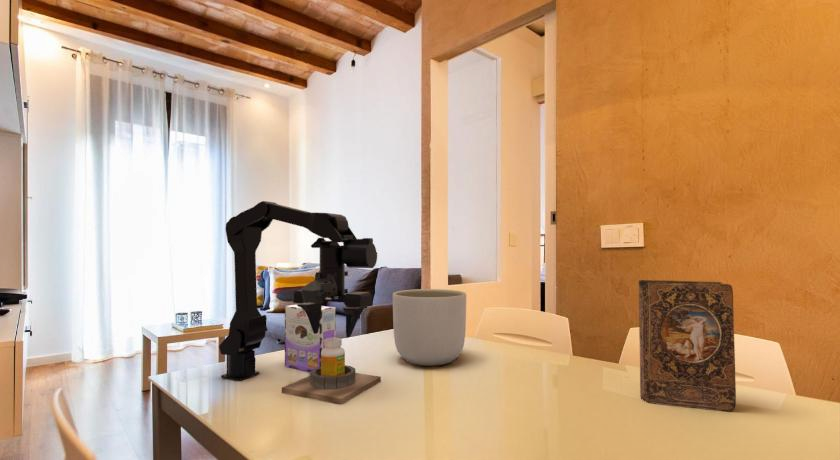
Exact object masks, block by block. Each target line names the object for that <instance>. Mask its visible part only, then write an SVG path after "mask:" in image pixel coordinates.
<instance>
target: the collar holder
mask: <svg viewBox="0 0 840 460" xmlns="http://www.w3.org/2000/svg"><path fill="white" fill-rule="evenodd" d="M381 382H382V376H378V375H373V374H372V375H371V374H365V373H359V372H356V368H355V367H353V366H351V365H347V364H345V375H340V376H321V367H318V368H315V369H313V370H312V371H311V372H309V375H308V376H306V377H303V378H301V379H299V380H296V381H294V382H292V383H289V384H287V385H284V386H282V387H281V393H282V394H285V395H290V396H295V397H300V398H306V399H311V400H316V401H320V402H326V403H332V404H337V405H343V404H345V403H346V402H348V401H350V400H351V399H354V398H356V396H359V395H360V394H362V393H364V392H366V391H367V390H369V389H371V388H373V387H375V386H376V385H377V384H379V383H381Z"/></svg>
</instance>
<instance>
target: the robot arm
mask: <svg viewBox="0 0 840 460" xmlns="http://www.w3.org/2000/svg"><path fill="white" fill-rule="evenodd" d="M273 220H274V221H279V222H283V223H286V224H290V225H295V226H298V227H301V228H305V229H307V230H308V231H309V232H311V233H312V234H314V235H316V236H318V237H317V239H316V241H314V242H313V243H312V244H311V245H310V247H311V248H312V249H319V271H317V272H315V275H314V280H313V281H310V282H309V283H307V284H306V285H304V286H303V287H301V289H300V290H299V289H298V290H295V291H294V293H293V295H292V303H293V304H297V306H298V307H301V308H302V309H303V310H304V311H305V312H306V314H307V316H308V319H309V321H310V324H311V327H312V330H313V333H314V334H317V333H318V330H319V324H320V316H321V307H322V306H323V302H331V303H343V304H344V305H345V306H346V307H343V308H342V310H343V312H344V313H345V335H346V337H345V338H350V337H352V334H353V331H354V330H355V327H356V325H357V322H358V320H359V318H360V316H361V314H362V313H363V311H364V309H368V306H371V305H372V306H373V296H372V294H371V292H370V291H369V292H368V291H353V292H349V291H348V288H345V285H346V284H345V281H346V280H345V279H346V277H348V276H349V271H346V270H345V267H347V268H350V269H374V268H375V267H376V265H377V261H378V252H377V248H376V246H375V244H374V242H373V241H374V239H373V237H363V238H357V237H356V236H355V233H353V231H352V229H351V228H350V225H349V221H348V219H347V217H346V216H344V215H342V214H338V213H332V212H331V213H329V212H311V211H307V210H303V209H299V208H294V207H291V206H286V205H283V204H278V203H276V202H273V201H264V200H263V201H259V202H258V203H257V204H255V205H254V206H253V207H251V208H248V209H246V210H244V211H242V212H239V213H238V214H236V215H235V216H232V217H230V218H229V220H228V221H227V222H226V223H225V235H226V239H227V243H228V245H229V247H230V248H231V250H232V251H233V254H234V260H233V261H234V288H235V289H234V290H235V291H234V292H235V312H234V314H233V316H232V318H231V320H230V322H229V327H228V329H229V330H228V335H227V336H226V337H225V339H223V341H222V342H221V343H220V344H219V345H218V349H219V352H220V355H224V356H226V373H224V374H222V375H220V377H221V378H223V379H227V380H233V381H238V382H239V381H243V380H246V379H248V378H251V377H254V376H257V375H259V374H260V371H258V370H256V356H255V355H256V354H255V351H256V349H259V348H261V343H262V341H263V339H265V337H266V333H267V331H268V327H267V319H268V318H267V315H266V314H263V315H262V314H261V313H260V311H259V308H258V297H257V296H258V294H257V292H258V291H257V289H258V287H257V263H256V260H257V258H256V257H257V256H256V254H257V253H256V251H257V250H258V247H259V245H260V243H261V242H262V234H263V231H265V230H266V229H268V228H269V227H270V226H271V223H272V222H273ZM326 239H329V240H326ZM339 243H342V245H340V244H339ZM345 265H346V266H345Z"/></svg>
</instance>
